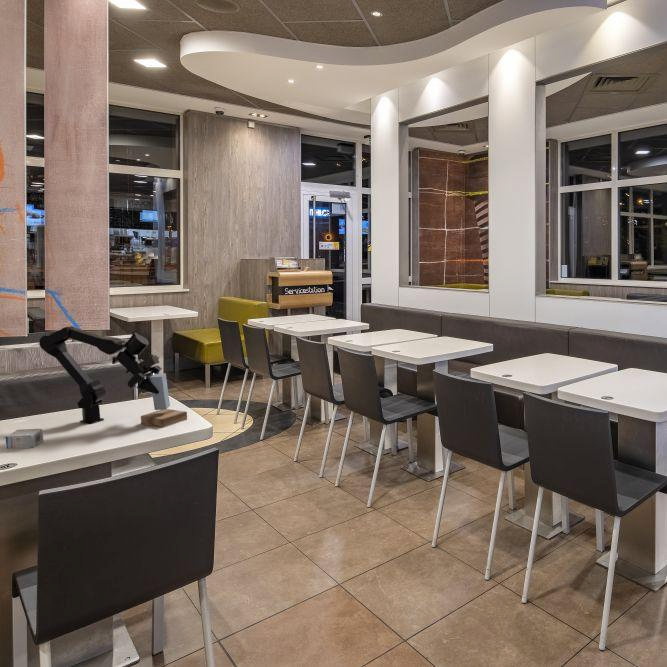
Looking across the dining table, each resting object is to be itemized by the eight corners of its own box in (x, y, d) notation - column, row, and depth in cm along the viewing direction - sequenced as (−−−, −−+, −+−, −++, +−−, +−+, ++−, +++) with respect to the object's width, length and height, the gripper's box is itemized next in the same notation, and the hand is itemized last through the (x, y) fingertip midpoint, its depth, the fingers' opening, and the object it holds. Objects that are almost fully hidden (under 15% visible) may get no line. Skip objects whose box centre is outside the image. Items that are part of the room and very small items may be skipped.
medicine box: (43, 440, 191) (18, 441, 191) (42, 428, 191) (16, 429, 190) (32, 447, 183) (6, 449, 183) (31, 434, 183) (4, 436, 182)
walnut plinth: (187, 419, 214) (186, 411, 214) (163, 427, 204) (163, 419, 203) (165, 416, 220) (164, 408, 220) (141, 423, 210) (140, 415, 209)
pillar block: (154, 410, 210) (150, 377, 207) (158, 406, 214) (154, 374, 212) (166, 409, 210) (161, 376, 207) (170, 405, 214) (165, 373, 212)
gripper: (133, 352, 200) (164, 381, 200) (155, 345, 218) (183, 372, 219) (114, 373, 202) (145, 403, 202) (137, 365, 220) (165, 391, 220)
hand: (161, 391), depth 211 cm, fingers closed on pillar block, 5 cm apart
